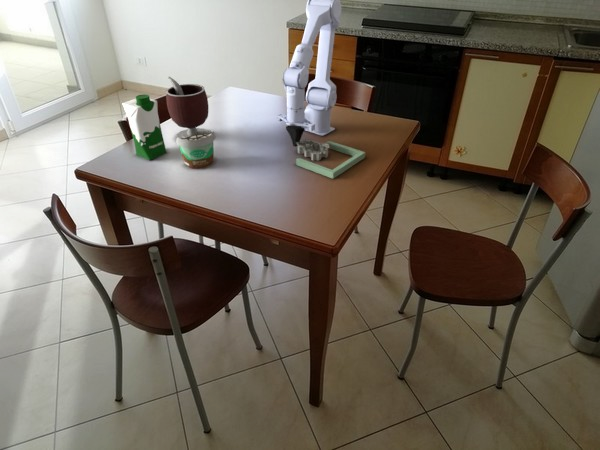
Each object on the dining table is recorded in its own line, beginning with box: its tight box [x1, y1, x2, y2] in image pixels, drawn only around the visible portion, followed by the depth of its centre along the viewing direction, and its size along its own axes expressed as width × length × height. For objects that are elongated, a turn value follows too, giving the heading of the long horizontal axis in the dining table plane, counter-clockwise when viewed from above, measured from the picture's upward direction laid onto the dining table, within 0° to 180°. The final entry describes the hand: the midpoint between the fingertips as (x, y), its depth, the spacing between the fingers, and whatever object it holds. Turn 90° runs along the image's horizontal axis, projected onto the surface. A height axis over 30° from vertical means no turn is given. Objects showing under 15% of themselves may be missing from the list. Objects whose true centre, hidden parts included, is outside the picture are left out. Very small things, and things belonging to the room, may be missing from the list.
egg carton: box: [296, 138, 330, 161], centre depth 141 cm, size 11×8×4 cm
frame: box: [295, 140, 366, 180], centre depth 137 cm, size 14×18×2 cm
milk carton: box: [121, 94, 167, 161], centre depth 137 cm, size 9×9×20 cm
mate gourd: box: [165, 76, 211, 140], centre depth 149 cm, size 16×14×20 cm
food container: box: [175, 129, 216, 170], centre depth 133 cm, size 12×6×10 cm, turn 117°
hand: (296, 145), depth 144 cm, fingers closed
